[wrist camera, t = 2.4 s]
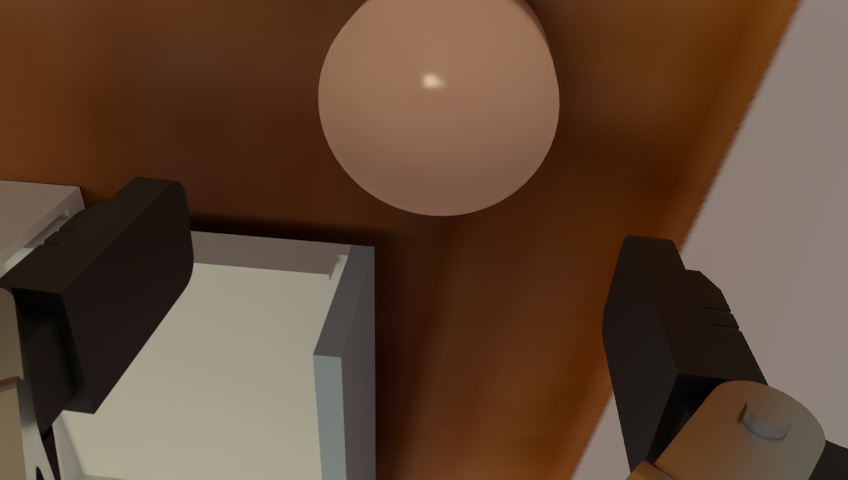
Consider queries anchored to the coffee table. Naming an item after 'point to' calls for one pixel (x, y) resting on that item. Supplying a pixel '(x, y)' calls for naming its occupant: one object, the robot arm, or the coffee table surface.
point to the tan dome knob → (440, 101)
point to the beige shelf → (32, 211)
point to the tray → (243, 371)
